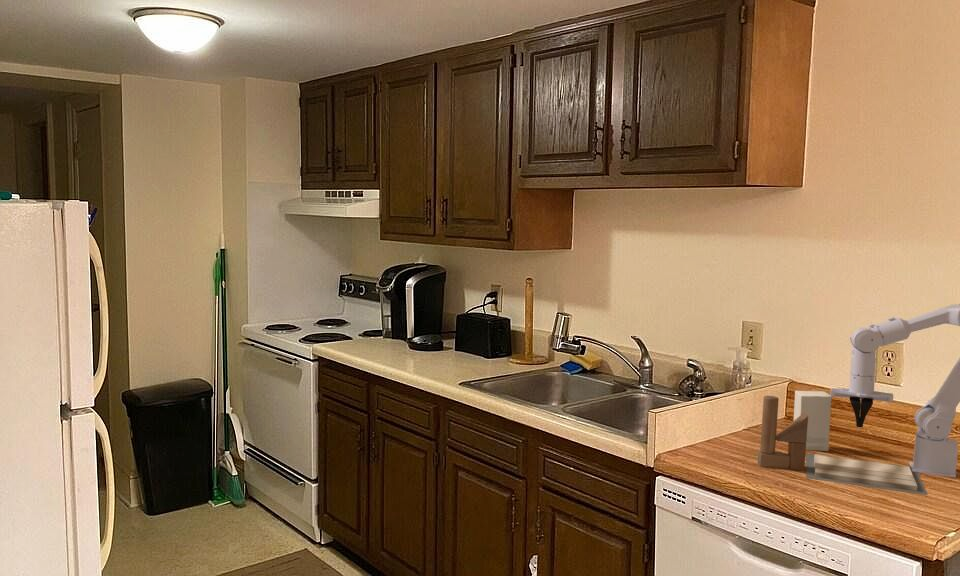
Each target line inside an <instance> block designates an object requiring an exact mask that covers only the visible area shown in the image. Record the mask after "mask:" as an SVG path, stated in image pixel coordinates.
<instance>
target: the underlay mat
mask: <svg viewBox="0 0 960 576" xmlns="http://www.w3.org/2000/svg"><path fill="white" fill-rule="evenodd" d="M814 455H815V453H814V454H812V453H807V452H806V453H805V478H806V479H808V480H810V479H811V480H816V481H817V480H818V481H822V482H823V481H824V482H830V483H838V484H845V485H851V486H852V485H853V486H859V487H866V488H872V489H873V488H874V489H880V490H888V491H895V492H901V493H908V494H916V495H924V496H929V494H928V492H927V491H926V488H925V486H924V483H923V482H922V480H921V477H920V475H919V473H918V472H913V470H912V468H911V466H909V468H910V470H911V472H912V475H913V477H914V479H915V482H916V484H917V491H912V490H905V489H898V488H890V487H883V486H876V485H869V484H862V483H855V482H848V481H841V480H834V479H827V478H819V477H815V464H814Z"/></svg>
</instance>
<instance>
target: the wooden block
mask: <svg viewBox="0 0 960 576" xmlns="http://www.w3.org/2000/svg"><path fill="white" fill-rule="evenodd" d="M779 399H780V398H779V397H778V396H775V395H764V396H763V399H762V402H763V403H762V414H761V415H762V416H761V417H762V419H761V432H760V447H759V450H758V451H757V464H758V466H759V467H760V468H771V469H781V470H784V469H785V470H798V471H799V470H800V471H805V468H806V453H807V452H806V451H807V450H806V440H807V426H808V416H807V415H806V414H805V413H803V414H802V415H800V416H799V417H798V418H797V419H796V420H794V419H793V421H792V422H791V423H789V424H788V425H786V427H784V429H783V428H782V430H781V431H780V432H778V433H777V431H778V430H777V427H778V412H779ZM777 442H784V443H787V453H786V452H782V451H779V450H778V451H776V446H777V445H776V443H777Z"/></svg>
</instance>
